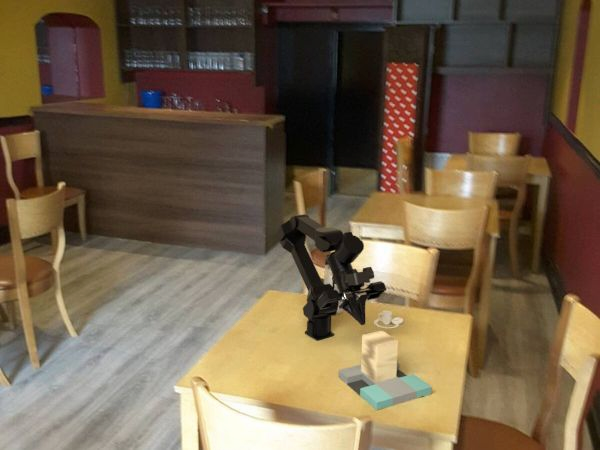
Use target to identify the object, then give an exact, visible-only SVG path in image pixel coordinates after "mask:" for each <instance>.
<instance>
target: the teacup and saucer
mask: <svg viewBox="0 0 600 450" xmlns="http://www.w3.org/2000/svg"><path fill="white" fill-rule="evenodd" d="M380 315H381V317H380ZM379 321H380V322H381V323H382V324H383V325H385V326H382V325H380V324H379V323H378V322H379ZM403 322H404V319H403V318H402V317H399V316H397V317H393V312H392V311H391V310H382V311H381V312H379V313H378V314H377V318H375V319H374V321H373V324H374V326H376V327H378V328H380V329H381V328H382V329H395V328H397V327H399V326H400V325H401V324H403ZM390 324H393V325H394V326H389V325H390Z"/></svg>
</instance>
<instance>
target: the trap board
mask: <svg viewBox="0 0 600 450" xmlns="http://www.w3.org/2000/svg"><path fill="white" fill-rule="evenodd" d="M404 376H408V375H407V374H406V373H405V372H403V371H401V370H400V363H399V362H397V372H396V378H392V379H389V380H385V381H381V382H378V383H376V382H375V381H373V380H372V379H371V378H370V377H368V376H367V375H366V374H365V373H363V372H362V371H361V364H358V365H353V366H351V367H346V368H342V369H338V378H339V379H340V380H341V381H342V382H343V383H345V384H346V386H348V387H349V388H350V389H352V391H354V392H355V393H356V394H357V395H358V396H360V388H364V387H367V386H371V385H375V384H376V385H377V386H379V387H380V388H381V389H382V390H384V391H385V392H386V393H387V394H389V395H390V396H391V397H392V398H393V406H396V405H399V404H398V403H400V404H403V403H406V402H405V401H407V402H410V401H413V400H416V399H415V398H416V397H417V391H416V390H415V389H413V388H412V387H411V386H409V385H408V384H407V383H405V382H404V381H403V380H401V379H400V377H404ZM412 399H413V400H412ZM409 400H410V401H409ZM402 402H403V403H402ZM395 404H396V405H395Z"/></svg>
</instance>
